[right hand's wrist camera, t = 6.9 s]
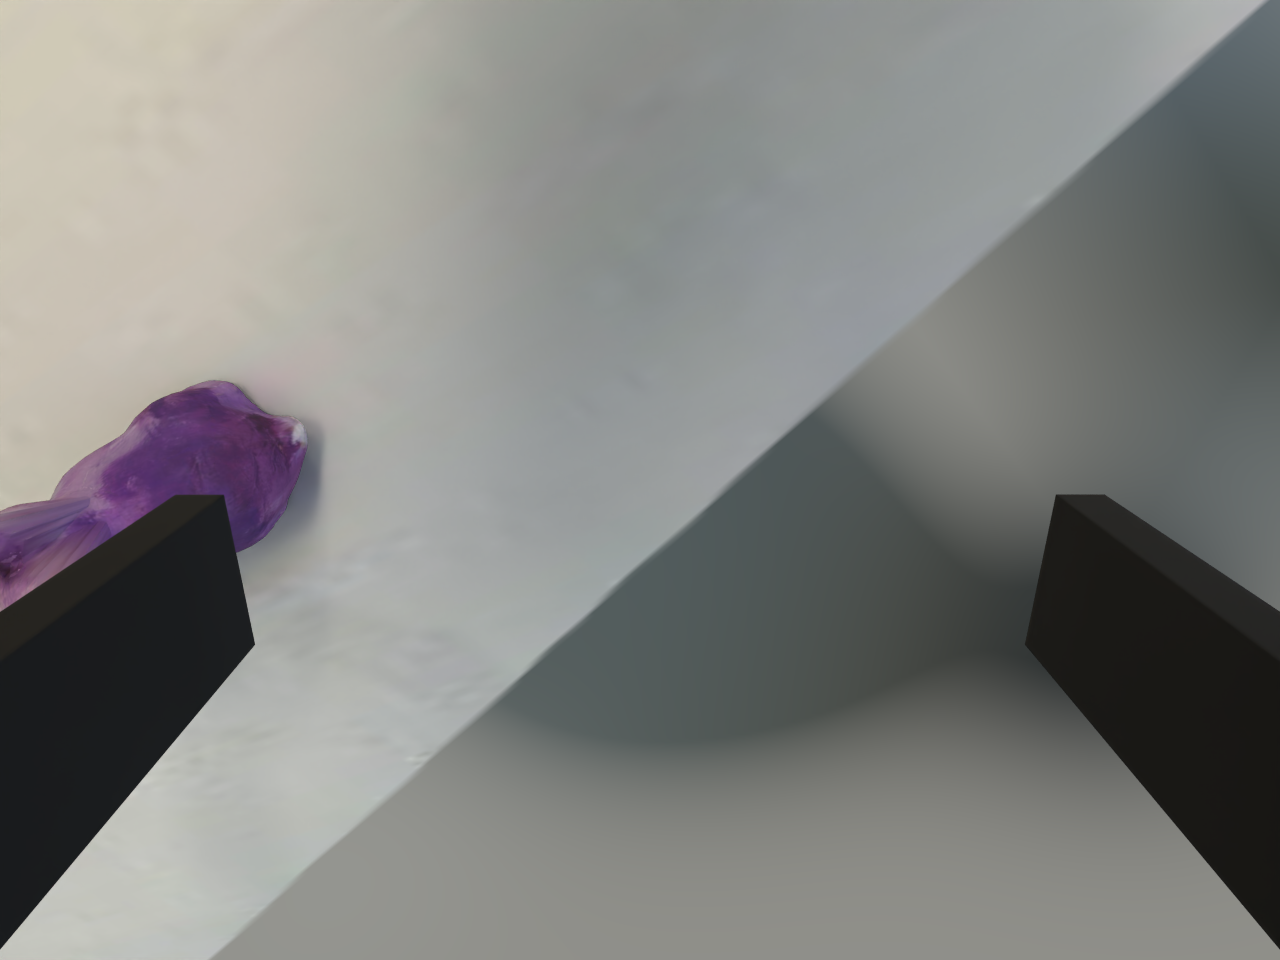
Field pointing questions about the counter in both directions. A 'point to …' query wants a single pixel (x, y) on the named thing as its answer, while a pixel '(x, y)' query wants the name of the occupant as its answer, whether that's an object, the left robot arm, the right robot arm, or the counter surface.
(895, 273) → the counter surface
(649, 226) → the counter surface
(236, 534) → the figurine
